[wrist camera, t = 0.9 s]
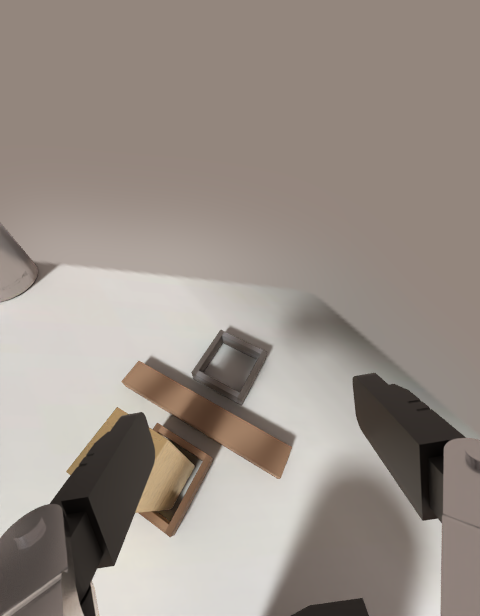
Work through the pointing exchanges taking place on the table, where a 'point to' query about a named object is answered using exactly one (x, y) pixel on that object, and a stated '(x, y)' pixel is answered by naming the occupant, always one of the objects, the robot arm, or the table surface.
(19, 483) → the table surface
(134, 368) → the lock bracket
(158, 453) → the tan wooden block
